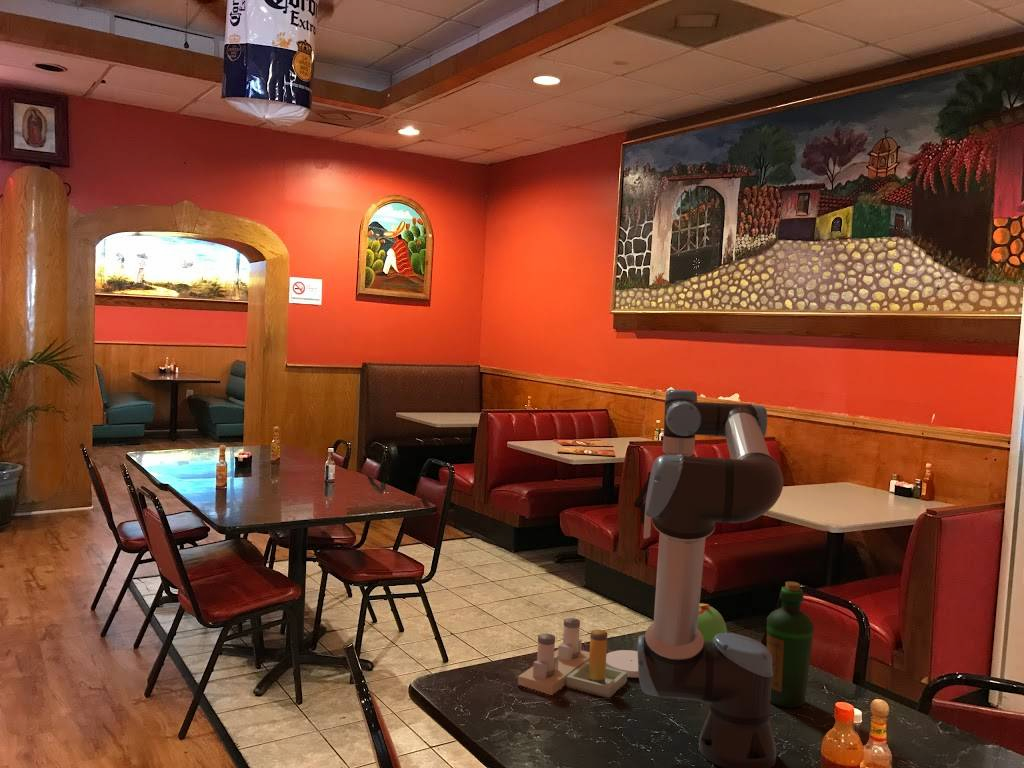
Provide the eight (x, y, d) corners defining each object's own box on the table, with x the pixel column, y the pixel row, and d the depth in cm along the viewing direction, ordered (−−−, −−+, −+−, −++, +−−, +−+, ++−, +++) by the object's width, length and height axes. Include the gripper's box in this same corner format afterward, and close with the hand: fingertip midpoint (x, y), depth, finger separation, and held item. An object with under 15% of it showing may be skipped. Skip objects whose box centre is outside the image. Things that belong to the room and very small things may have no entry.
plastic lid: (593, 663, 216) (593, 653, 216) (640, 657, 222) (640, 647, 222) (621, 684, 204) (621, 674, 203) (670, 677, 209) (670, 667, 209)
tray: (608, 698, 195) (609, 687, 194) (566, 686, 200) (566, 676, 200) (626, 682, 204) (627, 672, 204) (585, 671, 210) (585, 661, 209)
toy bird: (717, 674, 212) (721, 616, 211) (652, 660, 219) (655, 605, 218) (730, 651, 228) (733, 597, 227) (669, 639, 235) (672, 587, 234)
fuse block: (551, 695, 195) (554, 647, 194) (517, 686, 199) (519, 638, 198) (594, 663, 215) (596, 618, 215) (562, 655, 220) (564, 611, 219)
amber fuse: (601, 686, 200) (603, 636, 199) (585, 682, 201) (587, 633, 201) (607, 680, 203) (610, 632, 202) (592, 677, 205) (594, 628, 204)
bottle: (767, 688, 204) (774, 574, 203) (813, 699, 199) (821, 582, 197) (756, 703, 195) (763, 584, 194) (803, 715, 190) (811, 593, 188)
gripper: (734, 458, 199) (729, 546, 200) (634, 447, 211) (630, 531, 212) (725, 461, 193) (720, 553, 194) (623, 450, 205) (619, 536, 206)
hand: (673, 541), depth 203 cm, fingers open, 13 cm apart
